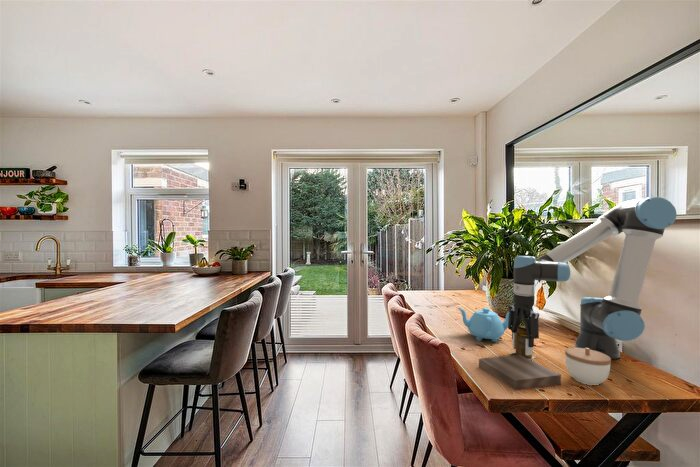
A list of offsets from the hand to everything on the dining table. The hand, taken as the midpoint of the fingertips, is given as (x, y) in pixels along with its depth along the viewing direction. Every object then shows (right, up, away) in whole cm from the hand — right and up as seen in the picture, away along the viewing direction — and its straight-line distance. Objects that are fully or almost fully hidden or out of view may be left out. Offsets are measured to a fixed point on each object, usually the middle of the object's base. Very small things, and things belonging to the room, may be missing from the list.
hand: (522, 351), depth 131 cm
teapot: (-6, -2, +22) cm, 23 cm away
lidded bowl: (+11, -3, -21) cm, 24 cm away
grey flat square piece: (-11, -2, -17) cm, 21 cm away
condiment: (0, -2, 0) cm, 2 cm away
